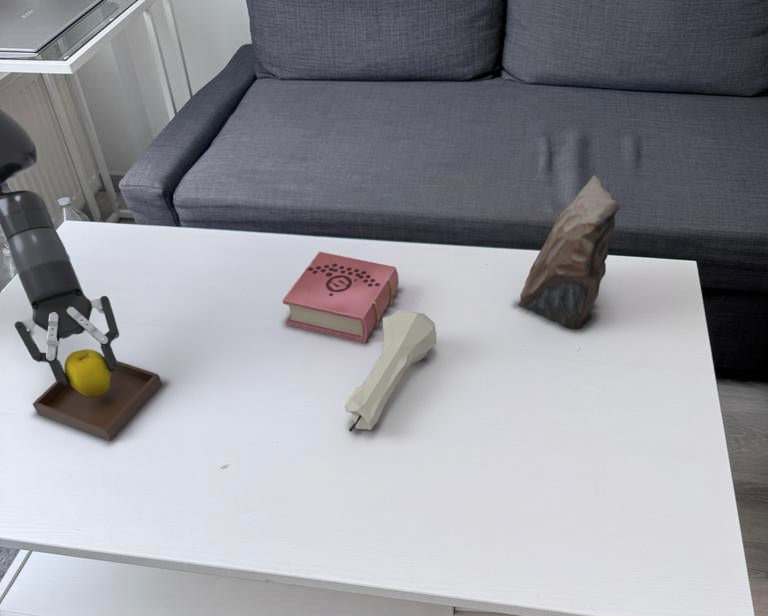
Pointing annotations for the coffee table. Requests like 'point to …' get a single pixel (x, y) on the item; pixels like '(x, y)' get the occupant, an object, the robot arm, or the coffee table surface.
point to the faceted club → (391, 364)
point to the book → (341, 296)
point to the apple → (88, 373)
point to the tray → (101, 402)
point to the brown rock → (573, 259)
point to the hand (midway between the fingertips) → (89, 377)
